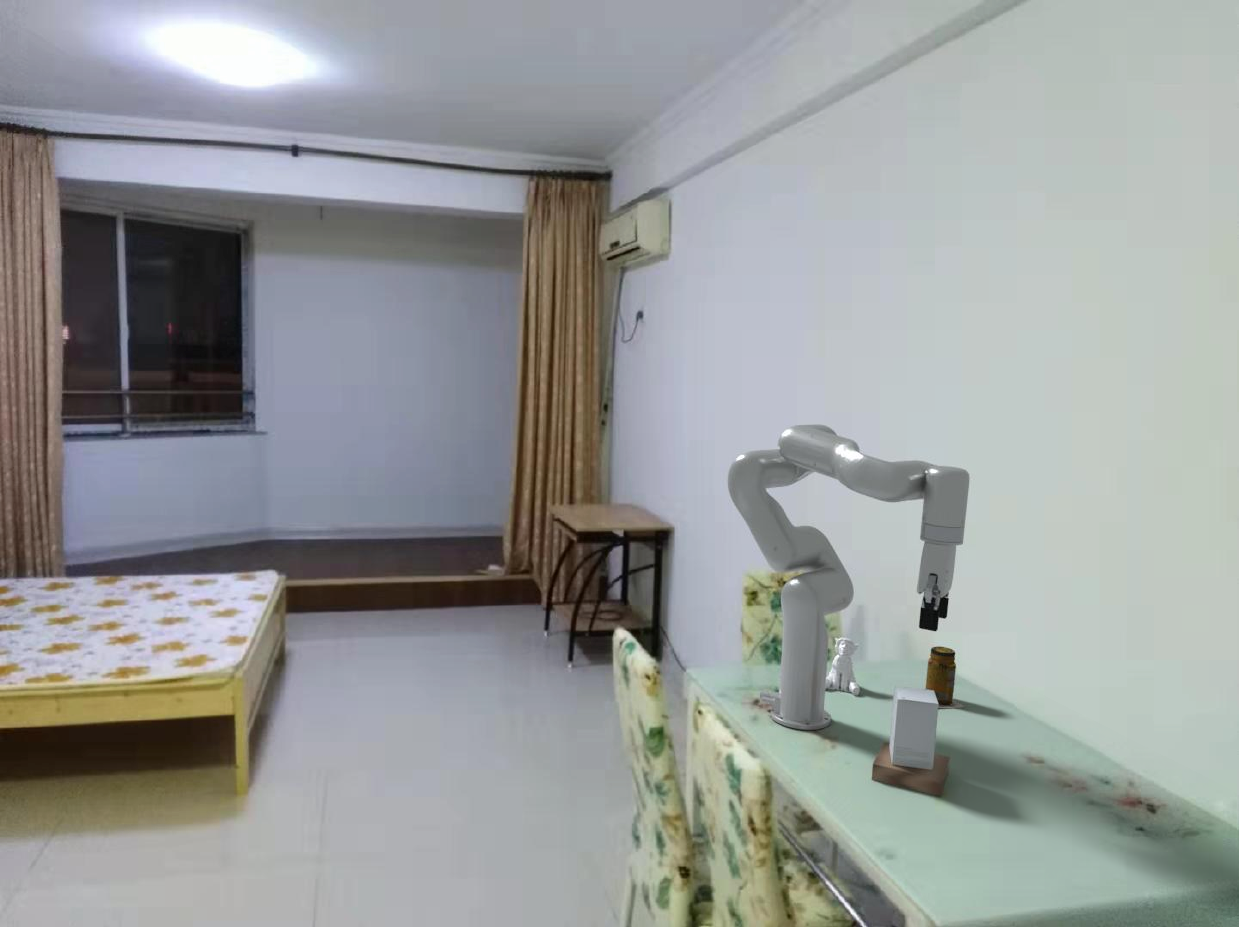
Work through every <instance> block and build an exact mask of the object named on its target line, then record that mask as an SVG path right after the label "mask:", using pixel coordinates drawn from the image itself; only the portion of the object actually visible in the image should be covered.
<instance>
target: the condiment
mask: <svg viewBox="0 0 1239 927" xmlns="http://www.w3.org/2000/svg"><path fill="white" fill-rule="evenodd" d="M929 656H930V657H929V658H928V661H927V668H926V679H925V680H926V682H925V689H926V690H933V691H934V692H935V695H936V698H937V700H938V703H939V706H938V709H957V708H958V709H959V708H960V709H961V708H965V705H964V704H961V703H960V702H958V701H957V700H955V699H953V698H954V691H955V680H956V672H957V671H956V670H957V666H956V665H957V664H956V662H955V660H956V651H955V650H954V649H952V648H949V647H945V646H933V647H931V648H930V655H929Z"/></svg>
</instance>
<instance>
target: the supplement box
mask: <svg viewBox="0 0 1239 927" xmlns="http://www.w3.org/2000/svg"><path fill="white" fill-rule="evenodd" d="M938 706H939V703H938V700H937V698H936V695H935V692H934V691H933V690H926V688H925V689H924V688H915V687H906V686H894V691H893V701H892V714H891V724H890V725H891V726H890V736H889V743H890V746H889V750H890V756H891V761H892V764H893V765H899V766H906V767H913V768H920V769H926V770H933V763H934V753H935V750H936V739H937V738H936V737H937V724H938V717H939V716H938V715H939V708H938Z"/></svg>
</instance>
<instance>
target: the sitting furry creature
mask: <svg viewBox="0 0 1239 927" xmlns="http://www.w3.org/2000/svg"><path fill="white" fill-rule="evenodd" d="M834 641H835V645H834V648H835V653H836V654H837V655H835V657H834V659H833V660H832V665H831V670H830V671H829V673H828V674H827V675H826V686H825V691H826V690H833V691H835V690H836V691H841V692H846V693H851V694H852V695H853V696H855V697H857V696H858V695H859V694H860V692H861V691H860V690H861V687H860V684H858V682H857V680H856V677H855V673H854V671H853V667H854V666H853V661H852V658H851V656H852V655H854V653H855V651H856V650H858V647H859V645H860V643H856V644H855V643H854V641H853V640H852V639H850V638H849V637H839V638H836V637H834Z"/></svg>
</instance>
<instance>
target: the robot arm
mask: <svg viewBox="0 0 1239 927" xmlns="http://www.w3.org/2000/svg"><path fill="white" fill-rule="evenodd" d="M860 451H861V450H860V447H859V445H858V443H857V442H856V441H855V440H853V439H850V438H847V437H843V436H840V435H838V434H837V433H836V432H835V431H834V430H833V429H832V428H831V427H829V426H827V425H825V424H797V425H796V424H795V425H793V426H790V427H787V428H786V429H785V430H783V432H782V433H781V434H780V436H779V438H778V442H777V449H760V450H759V449H757V450H752V451H747V452H744V453H742V454H740V455H739V456H737V457H736V458H735V459H733V462H732V463H731V465H730V467H729V470H728V473H727V474H728V475H727V488H728V490H727V491H728V493H729V496H730V498H731V501H732V503H733V505H734V506H735V508H736V510H737V511H738V512H739V514H740V515H741V517H742V518H743V520H744V521H745V523H746V525H747V527H748V529H749V531H750V533H751V535H752V537H753V539H754V540H755V542H756V544H757V545H758V547H759V549H760V552H761V553H762V555H763V557H764V559H765V561H766V562H767V564H768V565H769V568H771V569H772V570H773V571H774V572H777V573H780V574H789V573H795V572H800V571H802V572H803V573H800V574H797V575H794V576H793V577H791V578H789V579H788V580H787V581H786V582H785V584H784V585H783V587H782V589H781V593H780V606H781V613H782V642H781V646H782V647H781V659H780V661H781V662H780V675H779V690H778V691H775V692H770V691H769V690H767V691H766V690H761V691H760V692H759V699H760V700H761V703H762V704H769V705H772V707H771V708H770V713H769V714H770V717H771V718H772V720H773V721H775V722H776V723H778V724H779V725H783V726H784V727H788V728H791V729H797V730H805V731H812V730H814V731H815V730H820V729H824V728H826V727H828V726H829V725H830V724H831V720H832V719H831V718H832V717H831V715H830V713H829V712H828V711H827V710H825V696H826V690H825V686H826V677H827V671H828V659H829V658H828V655H829V632H828V627H827V625H826V622H825V621H826V620H825V617H826V616H828V615H831V614H835V613H838V612H841V611H843V610H846V609H847V608H848V607H849V606H850V605H851V603H852V602H853V599H854V596H855V595H854V593H855V592H854V585H853V582H852V580H851V577H850V575H849V573H848V571H847V570H846V568H845V566H844V564H843V563H842V561H841V559H840V557H839V556H838V554H837V552H836V550H835V549H834V547H833V545H832V543H831V542H830V540H829V538H828V537H827V536H826V535H825V534H824V533H823V532H822V531H821V530H819V529H818V528H816V527H814V526H811V525H799V526H795V525H794V524H793V523H792V522H791V521H790V519H789V517H788V516H787V514H786V512H785V510H784V508H783V506H782V505H781V503H779V502H778V500H776V499H775V498H774V497H773V496H772V495H770V493H769V492H768V491H767V489H774V488H784V487H789V486H791V485H794V484H796V483H797V482H800V481H801V480H803V479H804V478H806V477H808V476H810V475H811V474H813V473H818V474H820V475H822V476H826V477H828V478H829V477H830V478H832V479H835V480H837V481H839V483H840V484H842V485H843V486H844V487H846V488H847V489H849V490H851V491H853V492H855V493H858V494H860V495H862V496H865V497H869V498H872V499H874V500H878V501H881V502H884V503H901V502H906V501H916V500H923V503H922V504H923V505H922V514H921V522H920V524H921V525H920V535H919V539H920V540H921V541H922V542H924V543H923V547H922V551H921V557H920V563H919V564H920V565H919V572H918V580H917V586H916V593H917V594H918V595H921V594H923V596H922V601H921V606H920V613H919V620H918V621H919V622H918V628H919V629H921V630H926V631H932V632H937V631H938V627H939V619H944V620H945V619H947V617H948V608H949V600H950V597H949V594H950V590H951V588H952V586H953V582H954V581H953V580H954V573H955V565H956V564H955V563H956V555H957V554H956V552H957V546H961V545H964V536H965V528H966V527H965V526H966V517H967V506H968V501H969V500H968V499H969V491H970V490H969V489H970V477H971V476H970V473H969V472H968V471H967V469H965V468H961V467H956V466H947V465H946V466H945V465H938V464H933V463H929V462H927V461H924V460H916V459H915V460H900V461H888V460H883V459H880V458H878V457H877V458H876V457H873V456H870V455H867V454H866V453H862V452H860Z"/></svg>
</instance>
